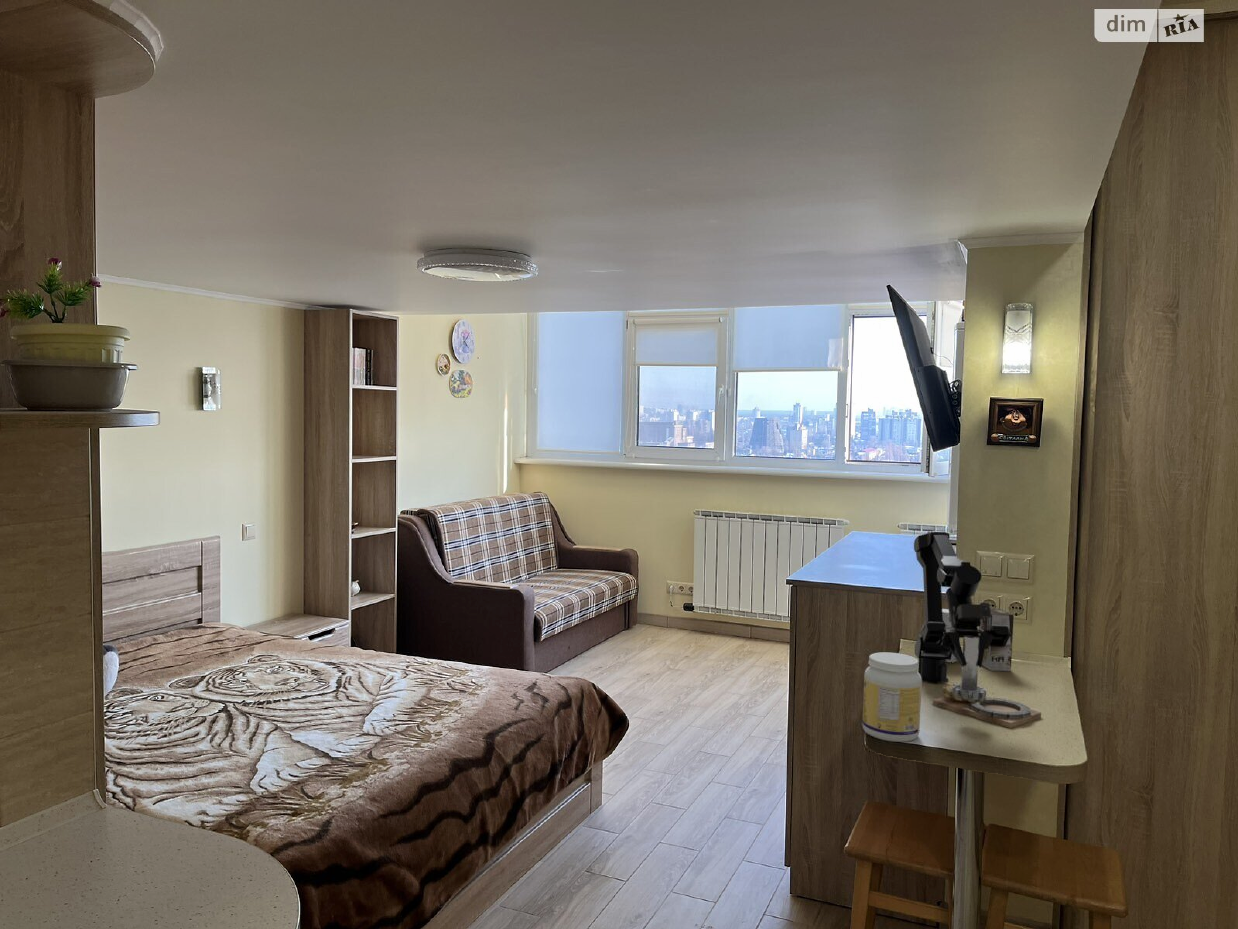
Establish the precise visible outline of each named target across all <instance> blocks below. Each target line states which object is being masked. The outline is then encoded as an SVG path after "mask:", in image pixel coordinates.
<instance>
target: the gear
mask: <svg viewBox="0 0 1238 929" xmlns="http://www.w3.org/2000/svg"><path fill="white" fill-rule="evenodd" d="M962 639H963V641H962V653H963V656H964V662H965V665H964V667H962V666H961V683H954V684H955V685H954V686H952V694H954V695H955V696H957V697H962V698H965V699H968V698H970V699H973V700H978V699H985V697H987V690H986V688H984V687H982V686H980V685H979V686H978V678H979V677H978V676H979V666H978V658H979V637H977V636H972V635H965V636H964V637H963V638H962ZM958 684H959V685H958Z"/></svg>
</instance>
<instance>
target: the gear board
mask: <svg viewBox="0 0 1238 929" xmlns="http://www.w3.org/2000/svg"><path fill="white" fill-rule="evenodd" d="M955 684H956V683H952V684H948V683H947V684H944V685H943V686H942V688H941V693H942V695H944V696H941V697H938V698H934V699H932V705H933V706H936V705H937V706H936V707H939V708H943V709H947V710H948V711H953V712H957V713H959V714H962V715H966V716H969V715H971V716H970V717H972V716H974V717H973V718H975V717H976V718H977V719H978V720H979V719H980V720H981V721H982V720H983V721H986V722H989V723H992V722H993V723H992V724H996V725H998V726H999V725H1000V726H1002V727H1005V728H1009V729H1012V728H1014V727H1017V726H1022V725H1023V724H1027V723H1028V722H1032V721H1035V720H1038V719H1040V717H1041V718H1042V712H1041V711H1038V710H1033V709H1031V707H1029V706H1028V705H1025V704H1023V703H1021V702H1018V701H1015V700H1011V699H1006V698H998V697H990V696H989V697H987V696H986V697H985V699H978V700H973V699H970V698H968V699H965V698H962V697H957V696H955V695H954V694H952V686H954V685H955ZM957 684H958V685H960V683H957ZM1026 722H1027V723H1026Z"/></svg>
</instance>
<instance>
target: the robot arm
mask: <svg viewBox="0 0 1238 929" xmlns="http://www.w3.org/2000/svg"><path fill="white" fill-rule="evenodd" d="M913 551H914V553H915V554H916V555H915V557H916V561H917V562H918V563H919V566H920V567H921V568H922V574H923V577H922V578H923V598H924V622H923V623H922V626H921V627H920V629H919V634H918V636H917V639H916V641H915V644H914V655H915V656H916V658H917V659H918V666H919V669H918V670H917V672H918V673H919V674H920V675H921V678H922V682H926V683H932V684H935V685H936V684H941V683H944V682H948V681H949V678H948V677H947V675H948V664H947V662H946V659H948V660H951V656H952V654H953V655H954V657H955V658H956V659H957V661H956V662H958V664H960V666H961V668H962V667H964V665H965V662H964V656H963V648H962V646H961V642H960V641H961V640H960V639H963V637H964V636H965V635H972V636H977V637H979V658H978V668H981V667H983V665H982V661H983V656H984V650H985V649H988V648H989V646H991V647H1004V646H1005V645H1006V643H1007V641H1008V639H1009V637H1010V635H1011V633H1010V629H1009V628H1008V627H1007V626H1006V625H990V628H989V630H979V626H980V625H981V622H980V620H981V619H983V618H988V617H989V616H990V615H991V611H990V609H991V607H990V606H991V605H990V603H989V602H980V603H979V604H974V603H973V599H972V597H974V596H975V594H976V592H977V590H978V588H979V585H980V583H981V581H982V574H981V572H980V571H979V570H978V568H976V567H975V566H972V565H971V562H970V561H965V560H963V559H961V558H959V557H958V555H957V554H956V551H955V549H954V546H953V545H952V543H951V540H950V533H949V532H947V531H945V530H931V531H928V532H927V533H924V534H919V535H918V536H917V537H916V538H915V539H914V541H913ZM942 588H947V589H946V591H945V599H946V600H945V602H946V604H947V609H948V610H949V622H951V627H949V626H946V624H945V623H944V621H943V614H942V609H943V595H942Z"/></svg>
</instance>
